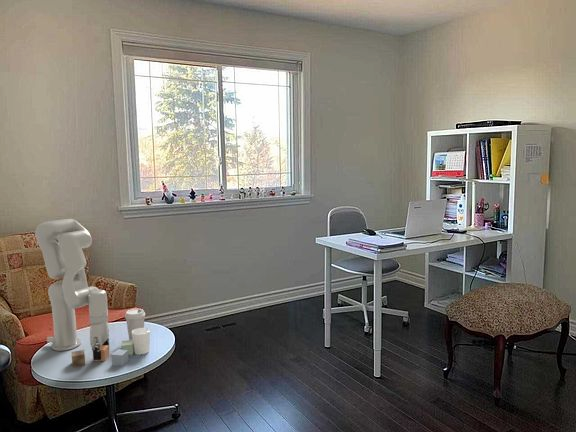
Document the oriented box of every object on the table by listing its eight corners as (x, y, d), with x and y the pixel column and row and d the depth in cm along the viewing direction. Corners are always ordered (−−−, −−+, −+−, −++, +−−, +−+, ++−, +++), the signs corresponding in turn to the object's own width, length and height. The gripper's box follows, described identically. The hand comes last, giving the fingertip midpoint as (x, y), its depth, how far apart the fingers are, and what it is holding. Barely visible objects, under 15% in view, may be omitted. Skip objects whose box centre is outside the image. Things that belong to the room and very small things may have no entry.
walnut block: (72, 367, 193) (71, 356, 193) (72, 362, 198) (71, 351, 197) (85, 365, 196) (84, 354, 195) (84, 360, 200) (84, 349, 199)
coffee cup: (140, 345, 214) (138, 315, 212) (122, 344, 216) (120, 314, 214) (150, 337, 223) (148, 308, 221) (132, 336, 225) (131, 307, 223)
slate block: (112, 365, 195) (111, 354, 194) (118, 360, 200) (117, 349, 199) (122, 366, 194) (122, 355, 194) (128, 360, 199) (128, 350, 198)
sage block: (121, 356, 204) (120, 345, 203) (122, 351, 209) (122, 341, 208) (133, 354, 205) (132, 344, 204) (134, 350, 210) (133, 339, 209)
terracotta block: (93, 361, 199) (93, 350, 199) (98, 355, 204) (97, 345, 203) (105, 360, 199) (104, 350, 199) (109, 355, 204) (108, 345, 204)
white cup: (135, 348, 212) (133, 328, 210) (152, 347, 212) (151, 327, 211) (130, 355, 204) (129, 334, 202) (148, 355, 205) (147, 334, 203)
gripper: (98, 311, 208) (100, 346, 210) (82, 325, 190) (85, 364, 193) (114, 311, 208) (116, 346, 210) (100, 325, 191) (102, 363, 193)
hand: (101, 354), depth 201 cm, fingers open, 9 cm apart
